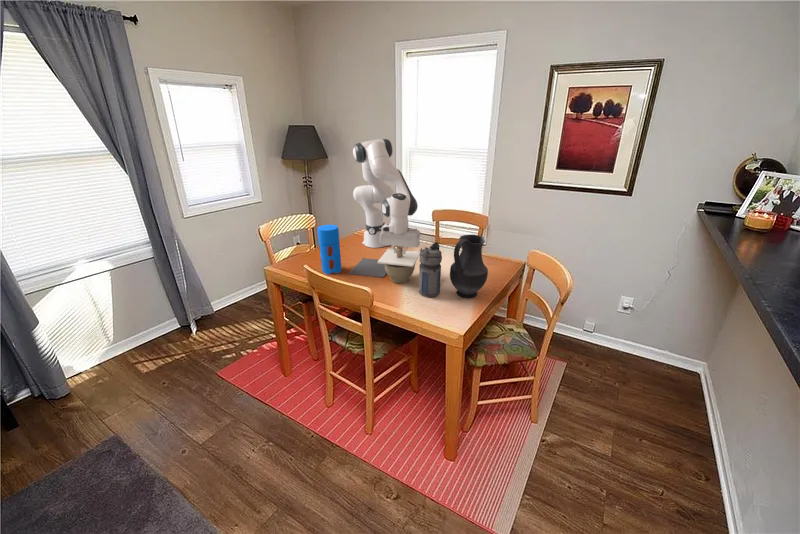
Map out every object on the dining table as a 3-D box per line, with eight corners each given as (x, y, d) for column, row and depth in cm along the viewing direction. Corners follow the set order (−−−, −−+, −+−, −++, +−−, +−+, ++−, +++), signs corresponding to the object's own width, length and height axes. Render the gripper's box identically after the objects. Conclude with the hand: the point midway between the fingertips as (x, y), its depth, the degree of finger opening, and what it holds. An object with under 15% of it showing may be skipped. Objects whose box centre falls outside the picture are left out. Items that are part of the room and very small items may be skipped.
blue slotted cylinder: (322, 275, 187) (317, 231, 177) (321, 267, 196) (316, 225, 186) (342, 273, 190) (339, 229, 179) (340, 265, 199) (337, 223, 189)
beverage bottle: (445, 289, 171) (447, 241, 161) (433, 300, 161) (435, 250, 151) (427, 284, 176) (428, 238, 166) (414, 295, 166) (414, 246, 155)
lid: (388, 250, 187) (387, 240, 184) (420, 253, 182) (420, 243, 180) (377, 263, 171) (377, 252, 168) (412, 266, 166) (413, 255, 164)
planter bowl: (378, 282, 178) (378, 263, 174) (393, 271, 191) (393, 252, 187) (406, 289, 171) (406, 269, 167) (420, 276, 185) (420, 258, 180)
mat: (363, 258, 208) (363, 258, 208) (395, 262, 203) (395, 261, 203) (348, 273, 188) (348, 272, 188) (383, 277, 184) (383, 276, 183)
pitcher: (491, 293, 167) (498, 234, 155) (468, 310, 153) (474, 246, 141) (461, 282, 178) (465, 226, 165) (437, 297, 164) (439, 237, 151)
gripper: (421, 227, 170) (421, 253, 176) (382, 224, 175) (382, 249, 181) (418, 230, 165) (418, 257, 170) (378, 227, 170) (379, 253, 175)
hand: (399, 253), depth 176 cm, fingers closed on lid, 3 cm apart
